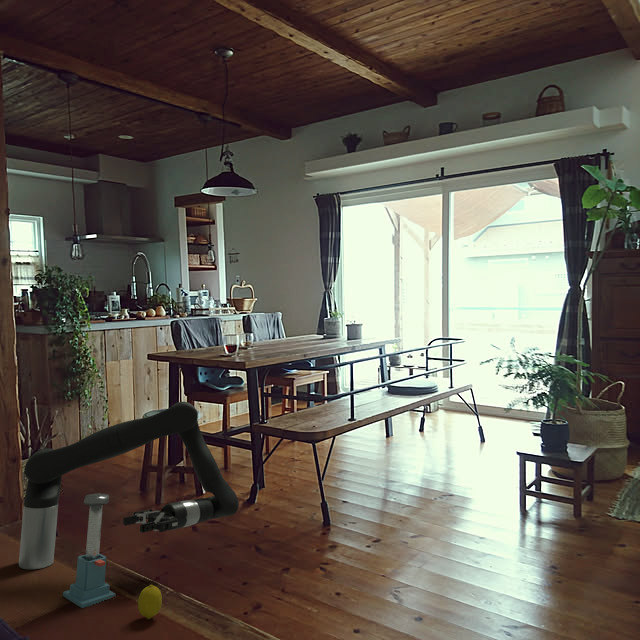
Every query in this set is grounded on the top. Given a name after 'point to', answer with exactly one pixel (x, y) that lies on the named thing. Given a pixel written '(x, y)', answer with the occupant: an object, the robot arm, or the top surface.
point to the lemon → (149, 601)
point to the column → (94, 524)
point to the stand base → (89, 583)
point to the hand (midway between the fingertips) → (132, 525)
